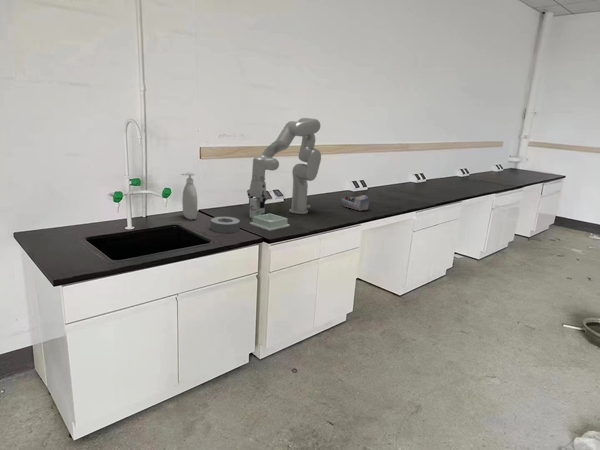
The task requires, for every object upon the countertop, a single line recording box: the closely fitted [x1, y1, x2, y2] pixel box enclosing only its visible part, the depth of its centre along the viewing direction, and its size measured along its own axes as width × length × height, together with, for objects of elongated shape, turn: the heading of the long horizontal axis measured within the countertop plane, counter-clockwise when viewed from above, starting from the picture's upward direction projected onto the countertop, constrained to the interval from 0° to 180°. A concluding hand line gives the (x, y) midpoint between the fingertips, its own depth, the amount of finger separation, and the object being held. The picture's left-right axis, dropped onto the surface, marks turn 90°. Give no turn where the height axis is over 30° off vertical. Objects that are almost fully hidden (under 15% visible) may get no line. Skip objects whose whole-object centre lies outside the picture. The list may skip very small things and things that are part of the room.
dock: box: [249, 213, 291, 232], centre depth 233 cm, size 16×16×4 cm
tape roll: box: [210, 216, 241, 234], centre depth 220 cm, size 15×15×5 cm
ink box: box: [249, 197, 266, 219], centre depth 248 cm, size 9×5×12 cm, turn 141°
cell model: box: [341, 194, 370, 211], centre depth 291 cm, size 13×11×20 cm
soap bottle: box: [181, 170, 198, 221], centre depth 233 cm, size 14×8×27 cm, turn 41°
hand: (256, 206), depth 248 cm, fingers open, 9 cm apart
